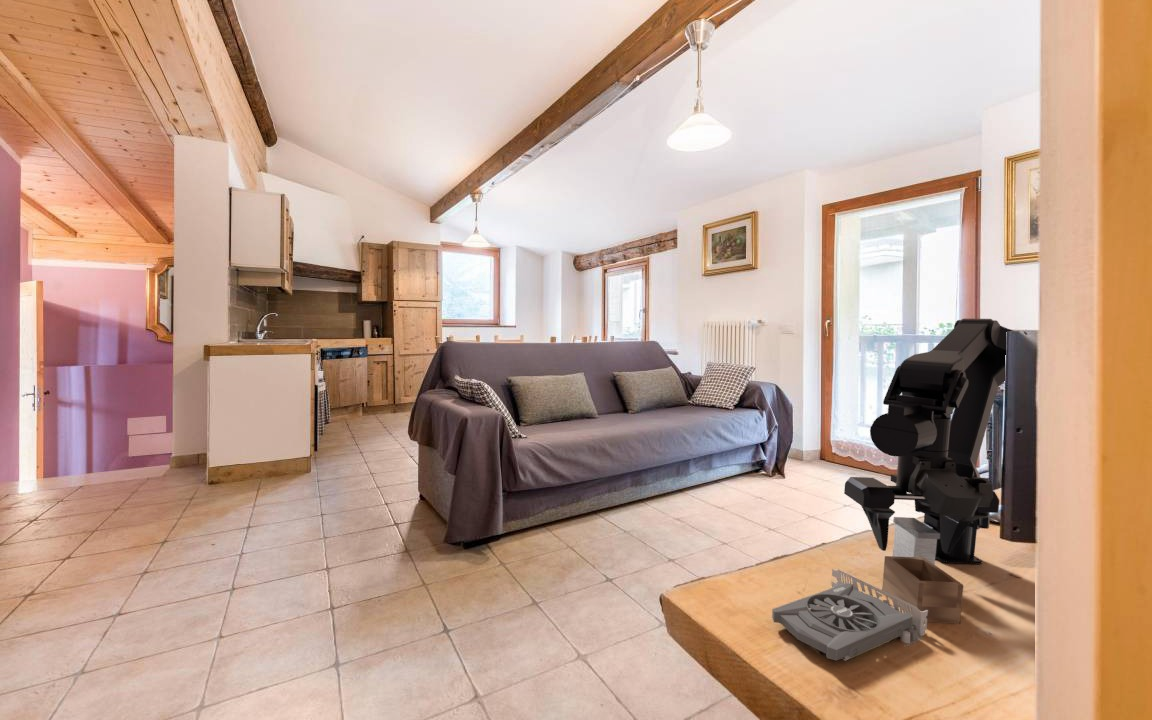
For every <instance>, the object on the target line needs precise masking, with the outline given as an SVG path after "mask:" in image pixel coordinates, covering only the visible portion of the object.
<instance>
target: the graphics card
mask: <svg viewBox="0 0 1152 720" xmlns="http://www.w3.org/2000/svg"><path fill="white" fill-rule="evenodd" d="M831 576H832V577H833V578H835V579H836V581H837V582H835V581H833V580H831V583H830V585H831V586H832V588H829V589H826V590H823V591H820V592H818V593H815V594H812V595H808V596H806V597H803V598H800V599H797V600H794V601H791V602H788V603H786V604H783V605H780V606H777V607H774V608H772V614H771V618H772V621H773V623H776V624H777V623H778V624H780V625H782V626H783V627H784V628H785V629H786V630H787V631H788V632H789V633H790V634H791V635H792V636H794V637H795V638H796V640H798V641H800V642H802V643H804V644H806V645H808V646H810V647H812V648H813V649H816V650H818V651H819V654H821V655H822V656H826V659H829V660H834V661H836V662H837V661H839V660H841V659H842V660H843V661H847V660H850V659H853V658H854V657H857V656H859V655H862V654H864V653H866V652H869V651H871V650H872V649H875V648H877V647H880V646H882V645H884V644H887V643H888V642H890V641H892V640H894V639H896V638H899V640H900V642H903V643H904V645H903V648H906V647H908V646H910V645H912V644H914V643H917V642H918V641H921V640H923V637H922V636H924V635H927V632H926V630H927V627H928V622H927V619H926V616H927V614H928V610H925V611H923V612H922V611H920V610H919V609H918V608H917V607H916V606H914V605H912V604H910V603H907V602H905V601H903V600H901V599H899V598H897V597H895V596H893V595H891V594H889V593H887V592H885V591H883V590H882V588H881V589H880V588H879V587H877V586H874V585H872V584H871V583H868V582H866V581H864V580H863V579H860V578H858V577H856V576H854V575H852V574H850V573H848V572H845V571H844V570H841V569H839V568H838V569H837V570H836V569H833V568H832V569H831ZM858 583H859V585H860V587H861V591H859V585H858ZM831 586H830V587H831ZM833 587H834V588H833ZM865 587H867V591H868V593H869V594H868V593H866V589H865ZM873 590H874V592H875V595H876V596H874V594H873ZM883 596H885V598H886V599H883V600H881V597H883ZM891 598H892V599H891ZM889 599H891V601H892V604H891V603H890V600H889ZM898 601H899V604H900V607H899V606H898ZM901 602H902V605H903V609H902V607H901ZM904 604H905V606H906V612H905V608H904ZM907 605H908V606H909V612H910V613H909V612H908V608H907ZM910 607H912V612H913V618H912V615H911V608H910ZM924 621H925V622H924ZM825 654H826V655H825Z"/></svg>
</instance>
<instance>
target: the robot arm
mask: <svg viewBox="0 0 1152 720" xmlns="http://www.w3.org/2000/svg"><path fill="white" fill-rule="evenodd" d="M1007 331H1013V330H1012V329H1009V328H1007V327H1005V326H1003V325H1000V323H999V321H998V320H996V319H995V320H994V319H992V318H962V319H958V320H956V321H955V322H954V326H953V328H952V330H951V331H949V333H947V335H945V337H944V338H943V339H941V341H940V342H938V344H936V345H935V346H934V348H932V349H931V350H930V351H927V352H921V353H915V354H913V355H911V356H909V357H906V358H905V359H904V360H903V361H901V363H900V365H898V367H897V368H896V369H895V372H894V373H893V377H892V379H891V381H890V383H889V386H888V389H887V391H886V393H885V396H884V399H883V402H882V403H883V405H887V406H888V407H887V413H883V414H881V415H879V416H877V418H875V419H874V420H873V422H872V424H871V426H870V429H869V433H870V438H871V439H870V440H871V442H872V443H873V445H874V446H875V448H877V449H878V450H879V451H880V452H882V453H883V454H885V455H887V456H890V457H897V468H896V474H895V473H894V474H893V473H892V474H890V482H892V483H894V484H895V485H887V484H885V483H884V482H882V481H880V480H878V479H876V478H875V477H865V476H864V477H863V476H862V477H861V476H859V477H858V476H850V477H849V478H848V479H847V480H846V481H845V483H844V490H843V491H844V492H843V494H844V495H846V496H847V497H848V498H850V499H852V500H853V501H854V502H855V503H856V504H859V506H861V509H862V510H863V512H864V515H865V516H866V518H867V521H868V523H869V525H870V528H871V530H872V534H873V536H874V538H875V541H876V544H877V547H878V548H879V549H880V550H881V551H887V547H888V541H889V528H890V525H889V524H890V519H891V517H892V516H893V515H895V514H896V511H895V510H893V509H892V506H893V505H894V504H895V500H898V501H899V500H901V501H905V500H906V501H908V500H909V501H914V511H915V512H916V513H917V512H918V513H922V514H923V515H924V516H923V521H921V522H922V523H923V524H925V525H927V526H928V527H930V528H932V529H933V530H935V531H937V532H938V533H940V539H937V545H936V556H935V560H938V561H939V562H942V563H953V564H955V563H956V564H975V565H978V564H979V565H982V564H983V559H981V558H979V557H977V556H976V555H975V553H976V552H975V551H976V543H977V542H976V540H977V531H978V530H980V529H987V530H989V528H990V521H991V514H992V513H994V514H998V513H999V511H1000V510H999V509H1000V501H1001V500H1000V499H999V496H998V495H997V493H996V492H995V491H994V483H992V482H991V481H990V480H989V479H987V478H986V477H981V475H980V473H979V471H978V468H977V462H978V459H979V456H980V452H981V448H982V444H983V443H984V442H983V440H984V438H985V435H986V431H987V427H988V423H989V420H990V417H991V413H992V410H993V406H994V402H995V398H996V395H997V392H998V388H999V387H1000V386H1002V385H1003V384H1004V383H1005V382H1004V381H1005V355H1006V332H1007Z"/></svg>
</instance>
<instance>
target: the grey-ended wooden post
mask: <svg viewBox="0 0 1152 720" xmlns="http://www.w3.org/2000/svg"><path fill="white" fill-rule="evenodd" d="M892 522H893V523H894V525H895V526H894V535H893V546H892V547H893V548H892V556H895V557H919V558H926V559H927V560H929V561H930V562H931V563H933V564H934V565H935V564H936V558H935V556H936V545H937V539H940V533H938V532H937V531H935V530H933V529H932V528H930V527H928V526H927V525H925V524H923V523H922V522H923V521H920V520H918V519H916V518H915V517H905V516H904V517H902V516H893V521H892Z"/></svg>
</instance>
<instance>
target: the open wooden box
mask: <svg viewBox="0 0 1152 720" xmlns="http://www.w3.org/2000/svg"><path fill="white" fill-rule="evenodd" d="M882 573H883V574H882V585H881V587H882V588H881V590H883V591H885V592H887V593H889V594H891V595H893V596H895V597H897V598H899V599H901V600H903V601H905V602H907V603H910V604H912V605H914V606H916V607H917V608H918V609H919V610H920V611H922V612H923V611H925V610H928V614H927V616H926V619H927V623H942V624H944V623H945V624H960V623H961V614H962V603H963V595H964V594H963V593H964V583H961V582H960V581H958V580H957V579H955V577H952V575H950V574H949V573H947V572H946V571H944V570H943V569H941V568H940V567H938V566H937V565H934V564H933V563H931V562H930V561H929V560H927V559H926V558H919V557H895V556H893V555H892V556H889V555H884V561H883V572H882ZM890 600H892V598H890ZM898 606H899V608H900V604H899V601H898ZM901 607H902V610H903V605H902V602H901ZM904 608H905V613H906V606H905V604H904ZM907 608H908V612H909V606H908V605H907ZM910 608H911V615H912V618H913V612H912V607H910ZM909 613H910V612H909ZM924 623H925V621H924Z"/></svg>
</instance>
